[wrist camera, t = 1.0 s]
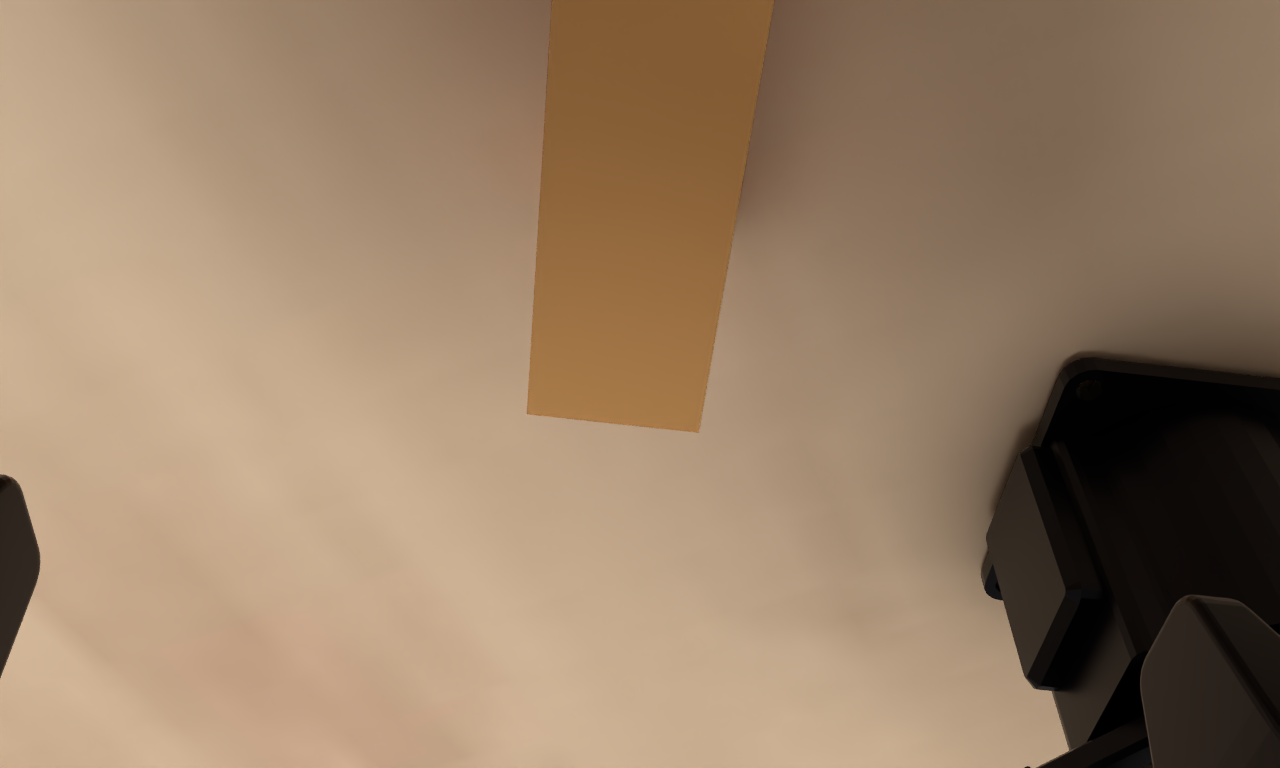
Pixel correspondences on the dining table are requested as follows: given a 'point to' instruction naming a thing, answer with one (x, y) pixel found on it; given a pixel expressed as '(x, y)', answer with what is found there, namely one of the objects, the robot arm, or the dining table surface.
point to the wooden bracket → (639, 203)
